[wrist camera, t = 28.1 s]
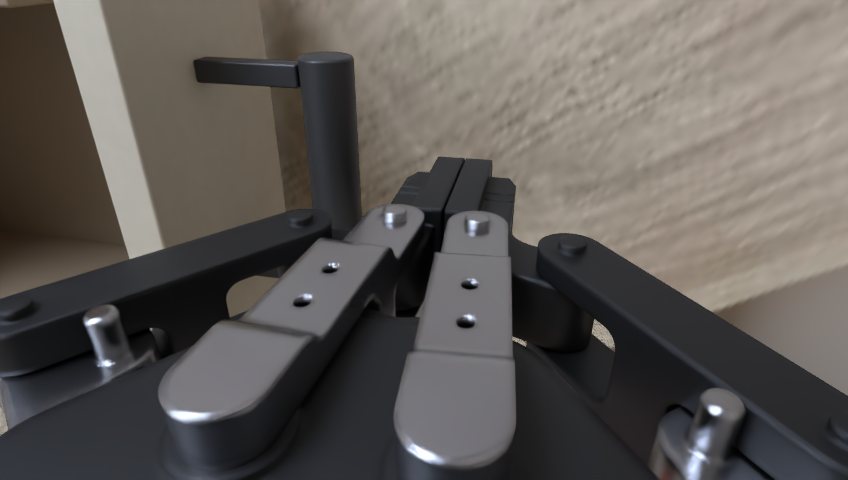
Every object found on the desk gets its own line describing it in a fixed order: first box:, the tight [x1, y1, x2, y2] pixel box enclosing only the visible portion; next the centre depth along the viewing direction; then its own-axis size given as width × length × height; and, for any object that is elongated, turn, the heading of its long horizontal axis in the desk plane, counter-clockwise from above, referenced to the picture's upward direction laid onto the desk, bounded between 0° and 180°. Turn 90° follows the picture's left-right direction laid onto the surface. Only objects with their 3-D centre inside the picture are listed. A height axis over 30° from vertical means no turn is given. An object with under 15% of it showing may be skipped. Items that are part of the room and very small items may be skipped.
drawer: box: [0, 0, 362, 331], centre depth 17 cm, size 19×12×7 cm, turn 89°
